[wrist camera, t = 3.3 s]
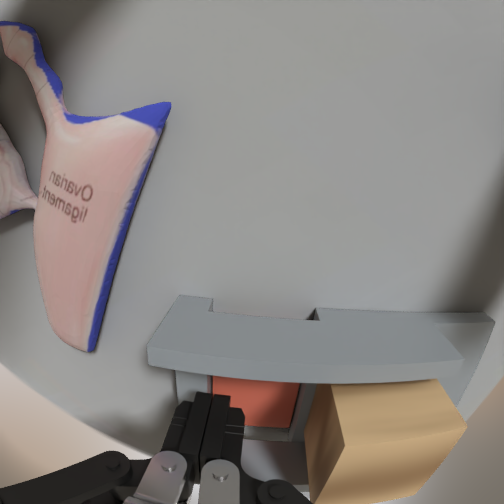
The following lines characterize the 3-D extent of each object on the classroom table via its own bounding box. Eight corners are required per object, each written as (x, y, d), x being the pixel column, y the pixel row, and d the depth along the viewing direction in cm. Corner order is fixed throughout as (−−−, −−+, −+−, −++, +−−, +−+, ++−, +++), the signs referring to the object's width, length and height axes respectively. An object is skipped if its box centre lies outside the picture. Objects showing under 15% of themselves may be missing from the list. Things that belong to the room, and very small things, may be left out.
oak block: (323, 357, 12) (345, 445, 7) (421, 356, 12) (467, 426, 7) (303, 431, 14) (310, 509, 9) (389, 427, 13) (414, 494, 9)
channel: (179, 295, 13) (146, 346, 9) (484, 312, 13) (527, 349, 9) (186, 424, 15) (170, 478, 11) (432, 424, 15) (453, 467, 11)
